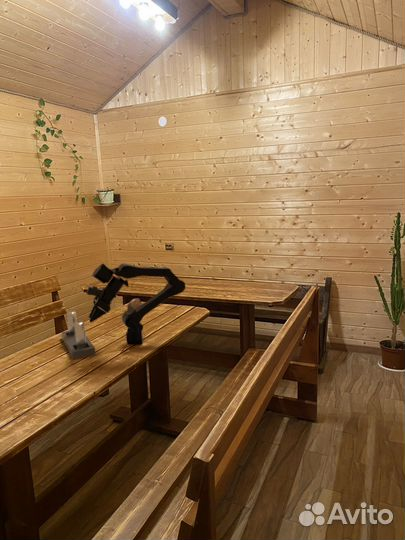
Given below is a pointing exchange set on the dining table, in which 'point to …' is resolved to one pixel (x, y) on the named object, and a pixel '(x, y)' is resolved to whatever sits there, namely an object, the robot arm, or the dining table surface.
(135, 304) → the tin
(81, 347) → the cylinder
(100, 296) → the robot arm
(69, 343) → the twin nest fixture
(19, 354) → the dining table surface
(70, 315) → the billet
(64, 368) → the dining table surface
